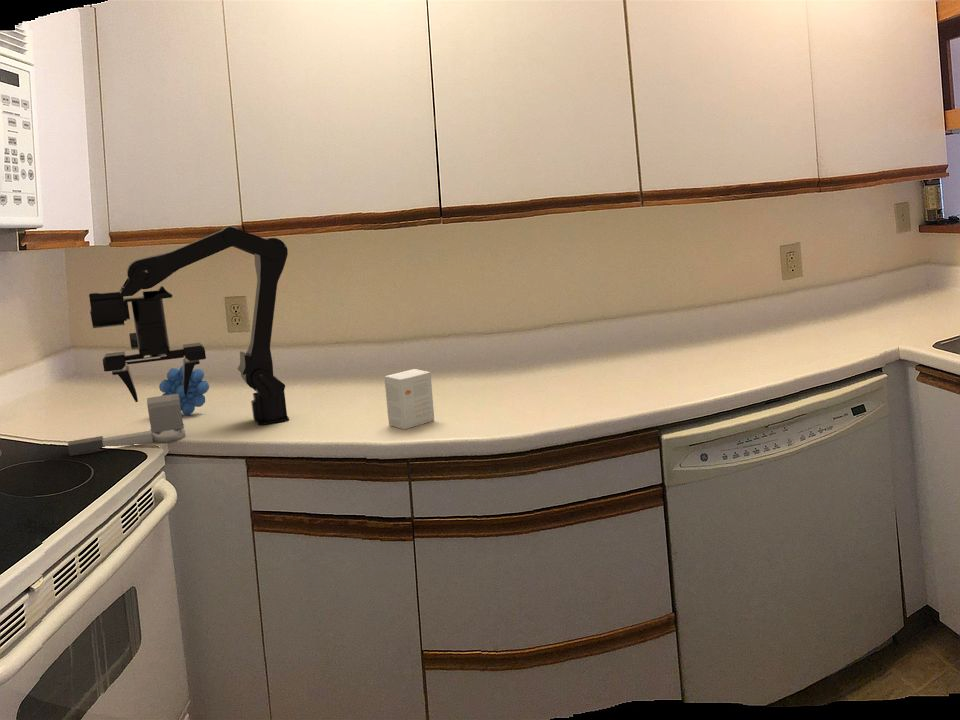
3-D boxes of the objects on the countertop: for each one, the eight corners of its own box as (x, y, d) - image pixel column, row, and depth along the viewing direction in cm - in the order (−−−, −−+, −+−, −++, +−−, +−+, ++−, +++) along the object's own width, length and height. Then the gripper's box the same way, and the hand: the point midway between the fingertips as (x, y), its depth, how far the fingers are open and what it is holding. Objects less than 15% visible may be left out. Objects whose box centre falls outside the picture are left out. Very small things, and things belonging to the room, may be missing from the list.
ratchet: (184, 432, 156) (180, 407, 155) (186, 439, 150) (182, 413, 149) (71, 450, 147) (67, 424, 146) (68, 459, 142) (63, 432, 141)
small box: (418, 416, 156) (414, 368, 154) (435, 421, 152) (431, 371, 150) (387, 425, 151) (383, 375, 149) (404, 430, 147) (399, 379, 145)
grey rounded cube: (182, 421, 155) (178, 393, 154) (183, 427, 150) (179, 399, 148) (151, 425, 153) (146, 398, 151) (151, 433, 147) (147, 404, 146)
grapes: (219, 408, 174) (212, 359, 171) (208, 416, 167) (201, 364, 165) (170, 411, 174) (163, 361, 172) (158, 419, 168) (150, 367, 165)
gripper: (197, 313, 158) (206, 384, 161) (100, 323, 150) (112, 397, 153) (200, 318, 148) (210, 394, 151) (97, 329, 140) (110, 408, 143)
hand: (161, 398), depth 150 cm, fingers open, 9 cm apart
